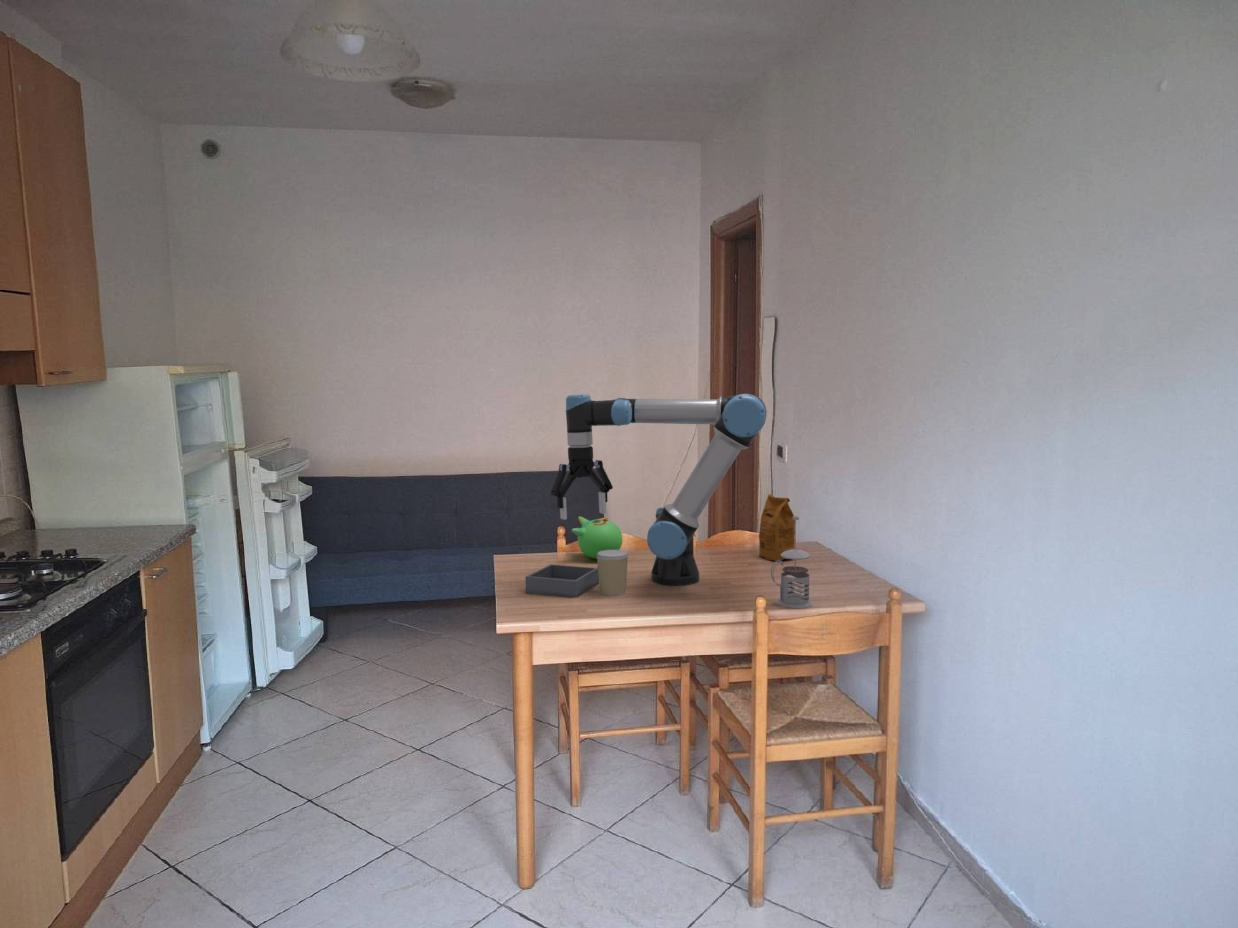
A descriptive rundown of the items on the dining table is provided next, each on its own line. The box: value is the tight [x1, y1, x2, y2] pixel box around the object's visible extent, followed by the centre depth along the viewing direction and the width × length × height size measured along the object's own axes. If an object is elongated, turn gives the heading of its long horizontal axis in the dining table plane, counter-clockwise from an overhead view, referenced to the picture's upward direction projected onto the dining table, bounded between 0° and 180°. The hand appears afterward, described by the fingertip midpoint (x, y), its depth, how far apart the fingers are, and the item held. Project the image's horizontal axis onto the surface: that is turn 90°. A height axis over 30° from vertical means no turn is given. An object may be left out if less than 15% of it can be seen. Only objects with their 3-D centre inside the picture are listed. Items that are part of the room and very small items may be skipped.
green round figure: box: [571, 516, 623, 560], centre depth 285 cm, size 18×17×15 cm
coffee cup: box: [596, 549, 629, 597], centre depth 240 cm, size 9×9×12 cm
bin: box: [525, 563, 599, 598], centre depth 246 cm, size 17×17×5 cm
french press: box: [770, 514, 814, 609], centre depth 226 cm, size 10×12×25 cm
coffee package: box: [758, 493, 795, 562], centre depth 281 cm, size 10×12×22 cm
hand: (583, 516), depth 244 cm, fingers open, 13 cm apart
